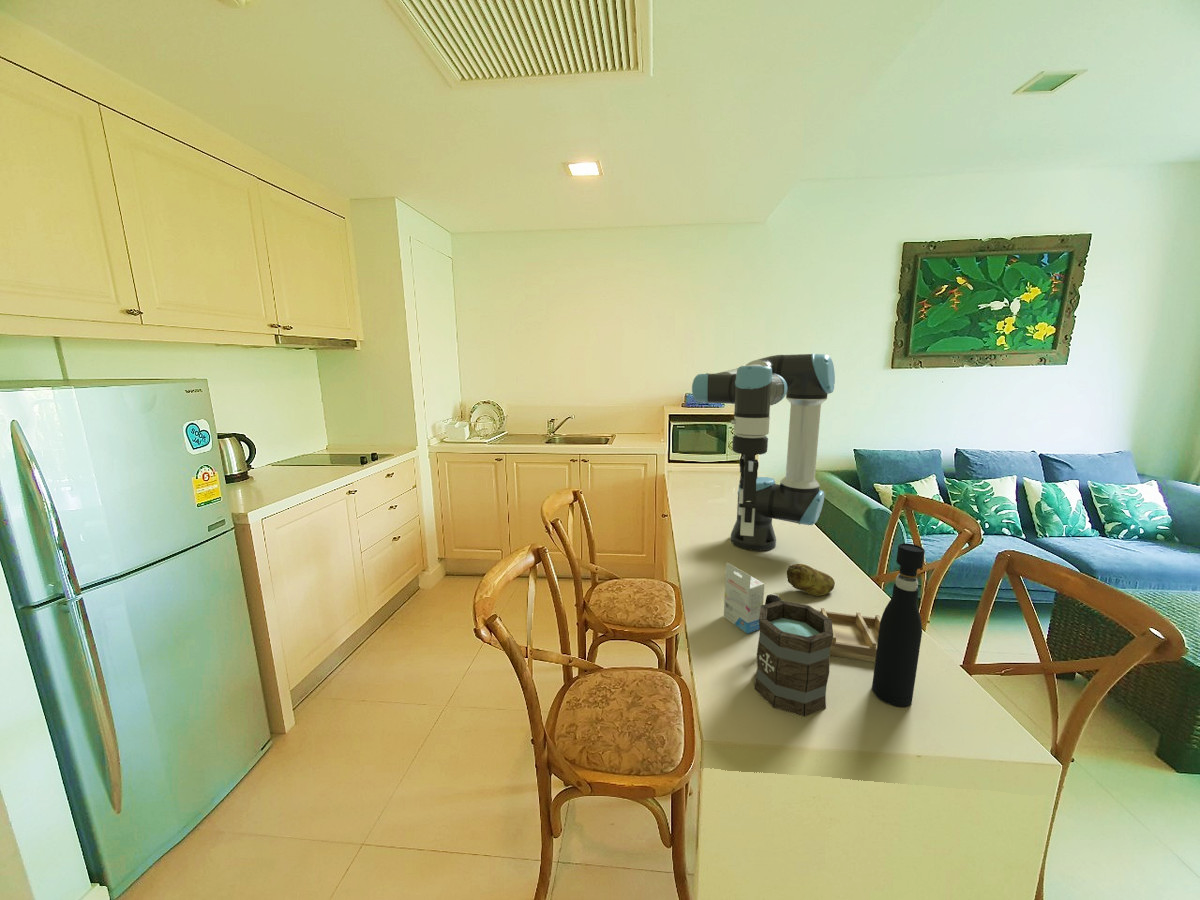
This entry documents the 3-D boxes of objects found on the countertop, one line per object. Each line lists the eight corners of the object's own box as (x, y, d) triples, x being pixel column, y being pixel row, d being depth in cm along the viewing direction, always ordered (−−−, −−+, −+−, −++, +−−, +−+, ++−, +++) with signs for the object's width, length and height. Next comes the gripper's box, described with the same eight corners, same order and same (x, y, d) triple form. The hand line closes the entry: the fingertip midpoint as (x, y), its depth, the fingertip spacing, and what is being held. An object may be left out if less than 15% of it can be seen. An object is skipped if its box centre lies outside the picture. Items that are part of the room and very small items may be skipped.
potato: (839, 603, 115) (842, 575, 113) (787, 597, 118) (789, 570, 116) (831, 587, 122) (834, 561, 121) (782, 582, 126) (784, 556, 124)
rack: (785, 617, 108) (786, 602, 108) (876, 629, 103) (878, 614, 102) (793, 649, 96) (794, 633, 95) (896, 665, 91) (899, 648, 90)
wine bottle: (864, 683, 86) (881, 541, 80) (894, 681, 86) (914, 539, 81) (888, 708, 80) (908, 556, 74) (920, 706, 80) (943, 554, 74)
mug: (842, 716, 78) (850, 642, 75) (766, 716, 78) (772, 641, 75) (796, 646, 97) (801, 585, 94) (735, 646, 98) (739, 585, 95)
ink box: (762, 628, 104) (766, 571, 101) (747, 634, 102) (750, 576, 99) (737, 611, 112) (740, 557, 109) (722, 616, 109) (724, 561, 107)
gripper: (732, 427, 111) (728, 506, 115) (734, 444, 87) (729, 543, 91) (763, 428, 109) (758, 508, 113) (774, 445, 85) (767, 547, 89)
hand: (745, 524), depth 102 cm, fingers open, 13 cm apart
